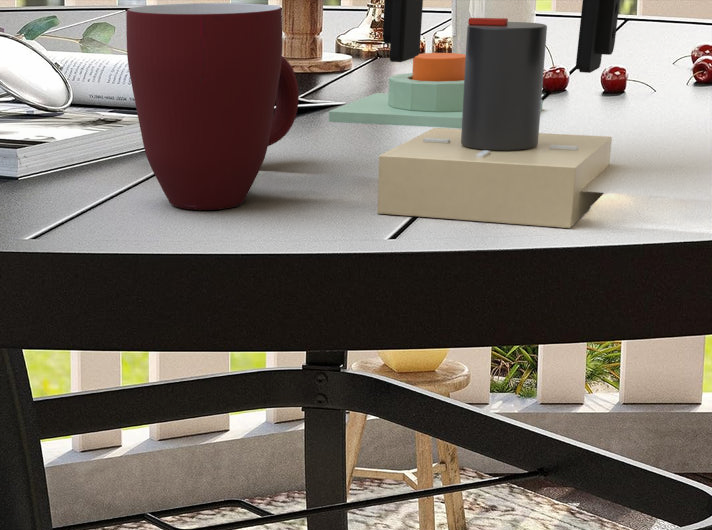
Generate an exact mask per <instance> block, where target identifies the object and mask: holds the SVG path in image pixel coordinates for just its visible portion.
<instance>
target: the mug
mask: <svg viewBox="0 0 712 530" xmlns="http://www.w3.org/2000/svg"><path fill="white" fill-rule="evenodd" d="M125 19H126V20H125V21H126V22H125V23H126V25H125V27H126V28H125V29H126V30H125V32H126V57H127V66H128V72H129V78H130V83H131V88H132V93H133V99H134V104H135V109H136V113H137V119H138V124H139V128H140V129H139V130H140V134H141V138H142V144H143V148H144V152H145V156H146V159H147V161H148V164H149V167H150V168H151V170H152V172H153V175H154V176H155V178H156V180H157V182H158V184H159V185H160V188H161V190H162V191H163V193H164V195H165V197H166V199H167V201H168V203H170V205H171V206H173V207H176V208H179V209H182V210H184V209H185V210H193V211H195V210H196V211H216V210H226V209H231V208H232V209H233V208H235V207H238V206H240V205H242V204H244V202H245V200H246V198H247V196H248V194H249V193H250V190H251V188H252V186H253V184H254V183H255V180H256V179H257V176H258V174H259V172H260V170H261V168H262V165H263V163H264V161H265V157H266V155H267V151H268V147H270V146H272V145H274V144H277V143H278V142H279V141H281V140H282V139H283V138H284V137H285V136H286V135H287V134H288V133H289V131H291V128H292V126H293V125H294V123H295V119H296V117H297V113H298V109H299V100H300V99H299V98H300V97H299V96H300V93H299V84H298V80H297V76H296V73H295V71H294V69H293V66H292V65H291V64H290V62H289V61H288V60H287V59H286V57H284V56H283V10H282V7H281V6H278V5H273V4H262V3H261V4H260V3H234V2H233V3H232V2H202V3H201V2H200V3H198V2H197V3H169V4H168V3H167V4H154V5H151V4H150V5H143V6H134V7H130V8H127V9H126V14H125Z"/></svg>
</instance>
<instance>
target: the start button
mask: <svg viewBox="0 0 712 530" xmlns="http://www.w3.org/2000/svg"><path fill="white" fill-rule="evenodd" d="M465 59H466V54H464V53H455V52H427V53H425V52H424V53H419V55H418V56H415V58H412V72H411V73H412V80H419V81H461V80H464V77H465Z"/></svg>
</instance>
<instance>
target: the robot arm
mask: <svg viewBox="0 0 712 530" xmlns="http://www.w3.org/2000/svg"><path fill="white" fill-rule="evenodd" d="M383 1H384V2H383V18H382V19H383V21H382V41H383V43H384V44H389V61H390V62H391V63H404V62H406V61H410V60H413V58H415V56H418V55H419V54H420V52H421V37H422V22H423V6H424V0H383ZM620 1H621V0H582V3H581V12H580V13H581V14H580V23H579V31H578V40H577V49H576V60H575V69H576V70H579V71H578V72H579V73H585V74H589V73H590V74H591V73H593V72H594V71H596V70H598V69H600V67H601V64H602V57H603V55H606V56H610V55H611V56H612V54H613V52H614V49H615V44H616V35H617V27H618V20H619V11H620V3H621V2H620Z"/></svg>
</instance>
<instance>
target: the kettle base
mask: <svg viewBox="0 0 712 530" xmlns="http://www.w3.org/2000/svg"><path fill="white" fill-rule="evenodd" d="M463 95H464V80H461V81H419V80H412V72H409V73H398V74H394V75H392V76H389V77H388V92H375V93H373V94H370V95H368V96H365V97H363V98H360V99H357V100H355V101H352V102H349V103H347V104H345V105H344V104H343V105H342V106H339V107H336V108H334V109H331V110H329V111H328V122H329V123H330V122H331V123H346V124H347V123H351V124H366V125H367V124H368V125H369V124H371V125H388V126H389V125H390V126H409V127H410V126H411V127H426V128H449V129H462V113H463ZM543 104H544V100H543V99H541V111H542V110H543Z"/></svg>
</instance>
